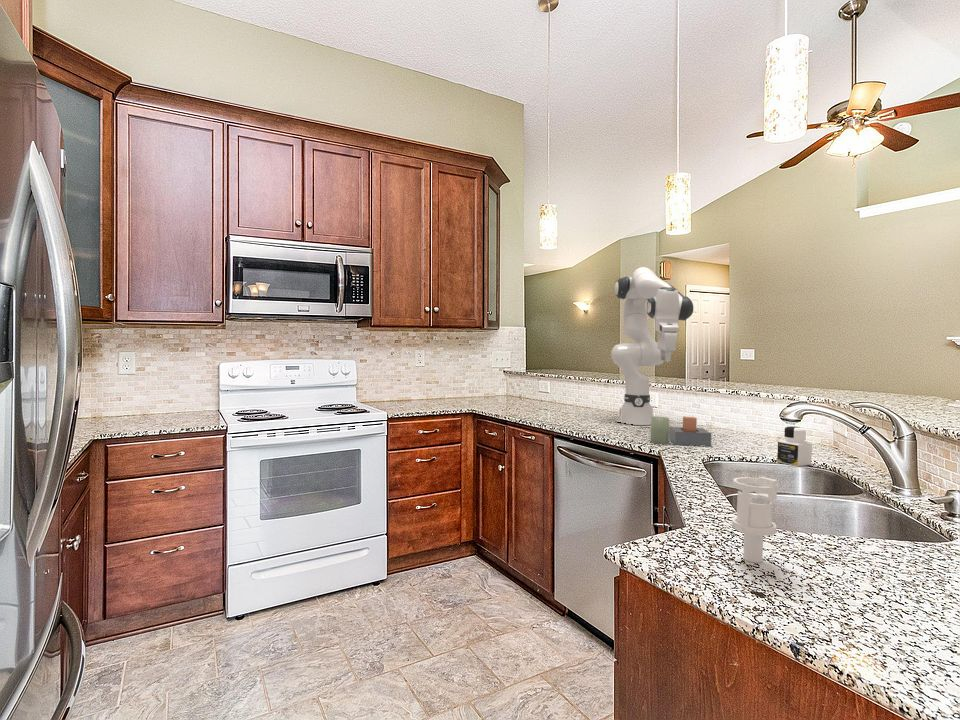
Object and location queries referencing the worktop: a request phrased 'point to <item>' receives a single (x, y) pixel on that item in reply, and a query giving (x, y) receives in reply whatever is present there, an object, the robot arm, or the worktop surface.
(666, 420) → the green rectangular block
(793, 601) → the worktop surface
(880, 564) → the worktop surface
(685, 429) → the square bit
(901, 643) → the worktop surface
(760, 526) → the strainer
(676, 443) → the bore block
